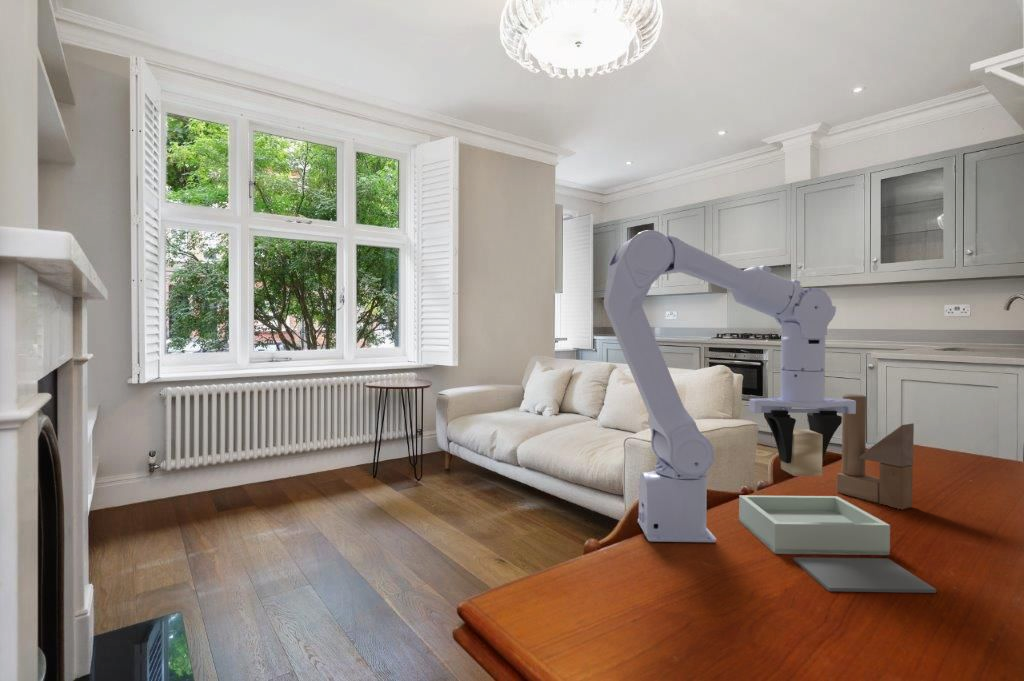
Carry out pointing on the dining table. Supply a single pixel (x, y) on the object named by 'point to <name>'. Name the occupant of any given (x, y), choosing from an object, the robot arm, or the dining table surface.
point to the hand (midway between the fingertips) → (801, 461)
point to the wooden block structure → (888, 452)
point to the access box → (813, 525)
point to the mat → (862, 575)
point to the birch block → (805, 454)
